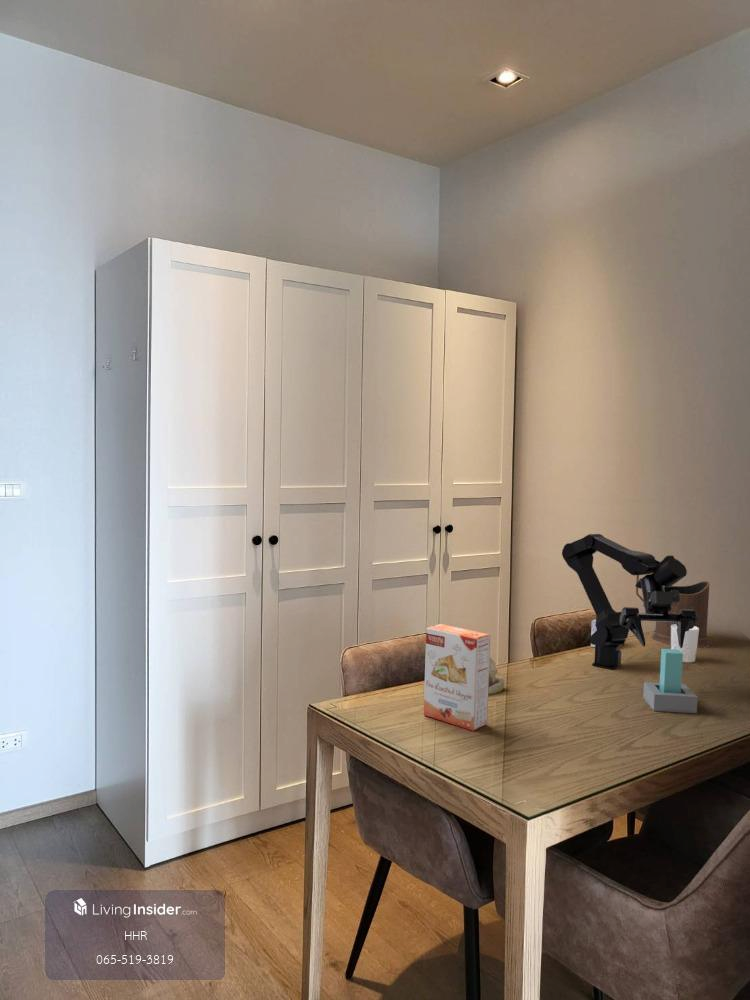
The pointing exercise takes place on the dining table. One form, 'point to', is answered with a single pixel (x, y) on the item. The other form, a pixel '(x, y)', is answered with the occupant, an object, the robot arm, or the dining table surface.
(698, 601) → the rusty brown pitcher
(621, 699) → the dining table surface
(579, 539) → the robot arm
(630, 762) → the dining table surface
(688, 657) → the white cup
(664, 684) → the plug
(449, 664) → the cracker box
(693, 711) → the socket
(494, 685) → the ceramic model
